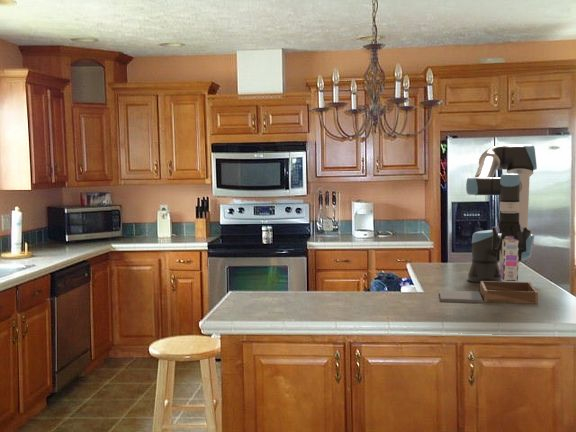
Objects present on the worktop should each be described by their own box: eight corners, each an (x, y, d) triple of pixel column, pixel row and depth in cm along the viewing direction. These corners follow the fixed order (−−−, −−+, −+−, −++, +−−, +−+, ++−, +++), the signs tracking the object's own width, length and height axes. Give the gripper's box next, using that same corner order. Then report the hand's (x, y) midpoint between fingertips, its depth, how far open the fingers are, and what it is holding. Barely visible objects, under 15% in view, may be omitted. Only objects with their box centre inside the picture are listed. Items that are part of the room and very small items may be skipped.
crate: (480, 291, 277) (480, 281, 277) (529, 293, 273) (529, 282, 273) (484, 301, 258) (484, 290, 257) (537, 303, 253) (538, 292, 253)
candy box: (518, 281, 258) (519, 240, 256) (503, 281, 259) (503, 240, 257) (513, 274, 271) (514, 235, 269) (498, 274, 272) (499, 235, 271)
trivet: (439, 293, 275) (439, 290, 275) (479, 294, 271) (479, 291, 271) (440, 301, 259) (440, 298, 259) (482, 302, 256) (482, 299, 256)
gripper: (486, 213, 260) (485, 269, 263) (535, 213, 257) (534, 270, 259) (484, 211, 268) (483, 266, 270) (532, 211, 264) (531, 267, 266)
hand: (508, 268), depth 265 cm, fingers closed on candy box, 6 cm apart
